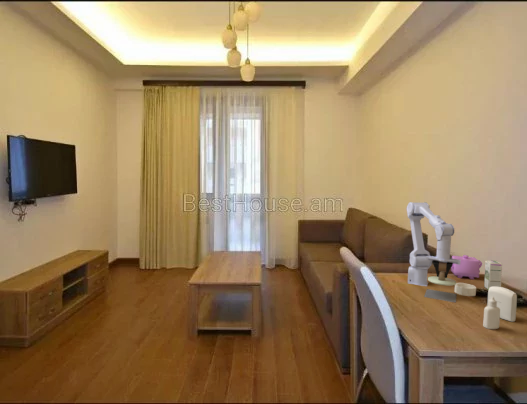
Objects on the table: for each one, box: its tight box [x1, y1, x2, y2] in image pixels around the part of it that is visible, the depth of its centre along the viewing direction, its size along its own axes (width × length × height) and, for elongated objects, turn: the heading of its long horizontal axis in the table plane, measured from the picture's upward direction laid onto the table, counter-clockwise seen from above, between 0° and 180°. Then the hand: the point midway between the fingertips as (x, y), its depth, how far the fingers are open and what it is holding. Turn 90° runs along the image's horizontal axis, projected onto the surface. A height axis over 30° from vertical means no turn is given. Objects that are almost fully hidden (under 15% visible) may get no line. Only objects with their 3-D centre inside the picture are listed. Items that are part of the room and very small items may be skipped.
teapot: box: [450, 254, 483, 280], centre depth 195 cm, size 20×10×12 cm, turn 72°
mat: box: [423, 288, 458, 303], centre depth 162 cm, size 13×13×1 cm
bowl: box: [454, 282, 477, 297], centre depth 166 cm, size 9×9×4 cm
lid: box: [427, 270, 457, 287], centre depth 162 cm, size 12×12×5 cm
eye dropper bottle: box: [482, 297, 501, 330], centre depth 129 cm, size 4×6×12 cm
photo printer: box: [486, 286, 518, 322], centre depth 139 cm, size 10×4×12 cm, turn 26°
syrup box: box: [483, 259, 503, 291], centre depth 173 cm, size 6×6×14 cm
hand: (441, 276), depth 162 cm, fingers closed on lid, 3 cm apart
